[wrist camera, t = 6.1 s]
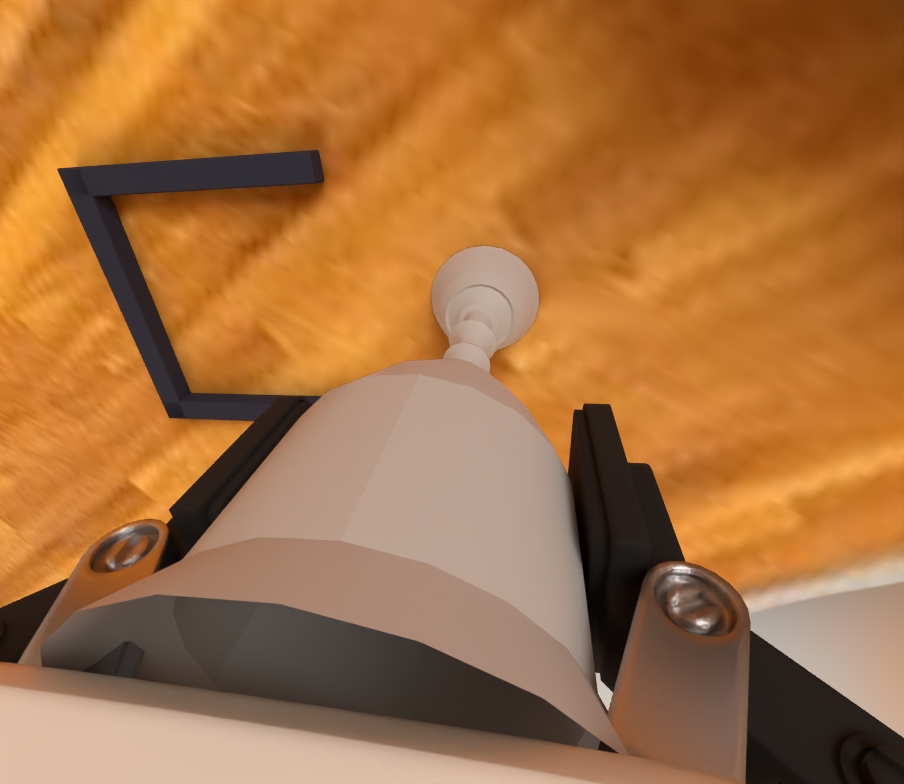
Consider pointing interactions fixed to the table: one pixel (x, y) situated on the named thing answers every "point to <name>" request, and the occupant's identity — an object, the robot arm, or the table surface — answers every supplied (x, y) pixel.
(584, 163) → the table surface
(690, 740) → the robot arm
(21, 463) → the table surface
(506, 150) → the table surface
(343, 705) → the chalice
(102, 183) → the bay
